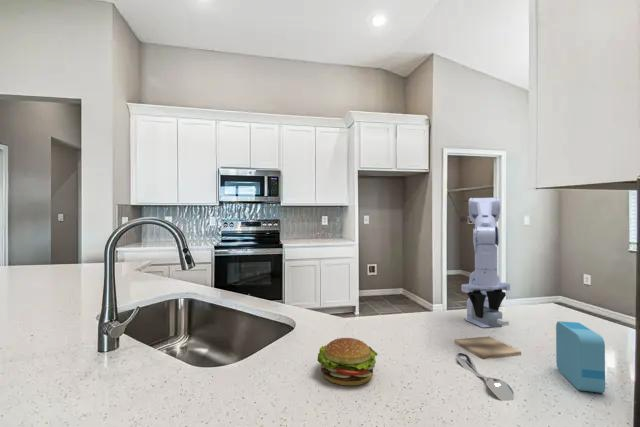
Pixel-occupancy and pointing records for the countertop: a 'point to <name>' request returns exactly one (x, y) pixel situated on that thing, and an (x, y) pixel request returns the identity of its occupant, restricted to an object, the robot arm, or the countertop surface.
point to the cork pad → (487, 347)
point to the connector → (490, 317)
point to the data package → (580, 356)
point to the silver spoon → (489, 380)
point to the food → (347, 361)
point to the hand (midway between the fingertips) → (486, 316)
